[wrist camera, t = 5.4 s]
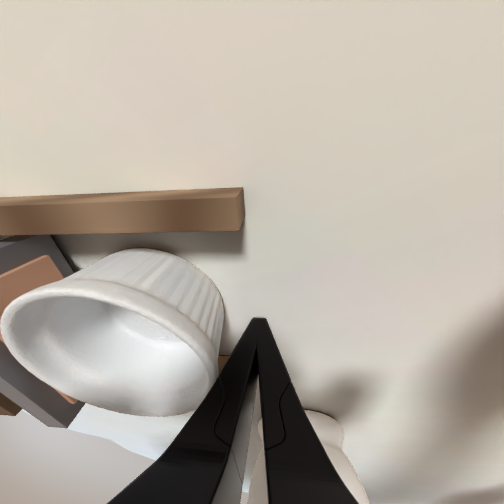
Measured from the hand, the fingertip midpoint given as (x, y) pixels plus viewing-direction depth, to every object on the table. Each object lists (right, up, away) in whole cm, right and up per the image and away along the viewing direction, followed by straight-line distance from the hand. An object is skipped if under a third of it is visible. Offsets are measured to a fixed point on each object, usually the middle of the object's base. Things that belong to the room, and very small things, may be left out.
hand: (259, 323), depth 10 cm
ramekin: (-6, +1, +2) cm, 6 cm away
